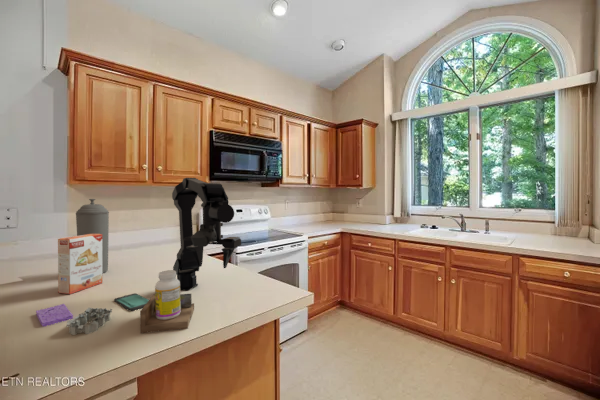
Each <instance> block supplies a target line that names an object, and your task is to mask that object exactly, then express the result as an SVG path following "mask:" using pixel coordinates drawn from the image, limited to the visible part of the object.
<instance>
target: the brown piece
mask: <svg viewBox="0 0 600 400" xmlns="http://www.w3.org/2000/svg"><path fill="white" fill-rule="evenodd" d="M148 300H149V301H148V302H147V303H146V305H145V306H144V307H143V308H142V309H140V310H139V311H140V314H139V315H140V317H139V320H140V321H139V322H140V327H139V330H140V334H147V333H157V332H165V331H167V332H168V331H175V330H186V329H189V326H190V323H191V320H192V317H193V314H194V311H195V303H193V302H192V306H191V308H181V312H180V314H179V315H178V316H177V317H175V318H172V319H168V320H160V319H158V318H156V307H155V293H154V294H153V295H152V296H151V297H150V298H149V299H148Z"/></svg>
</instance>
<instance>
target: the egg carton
mask: <svg viewBox="0 0 600 400" xmlns="http://www.w3.org/2000/svg"><path fill="white" fill-rule="evenodd" d="M112 313H113V308H110V309H107V308H106V307H105V308H99V307H97V308H92V307H87V309H86V310H85V311H84V312H82V313H79V314H78V315H76V316H75V317H73V319H70V320H67V323H66V327H67V328H68V330H69V331H68V334H70V335H71V336H76V335H78V334H81V333H84V334H85V335H89V334H91V333H95V332H97V331H98V329H99V327H103V326H104V325H105V322H107V321H110V320H111V314H112ZM88 321H89V322H88ZM77 333H78V334H77Z"/></svg>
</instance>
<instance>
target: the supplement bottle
mask: <svg viewBox="0 0 600 400" xmlns="http://www.w3.org/2000/svg"><path fill="white" fill-rule="evenodd" d="M158 279H159V280H158V281H157V282H156V283H155V285H154V294H155V307H156V318H158V319H160V320H168V319H172V318H175V317H177V316H178V315H179V314H180V312H181V306H180V294H181V290H180V281H179V280H178V279H177V275H176V271H175V270H173V269H170V270H169V269H168V270H162V271H160V272H158Z"/></svg>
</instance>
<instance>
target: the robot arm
mask: <svg viewBox="0 0 600 400" xmlns="http://www.w3.org/2000/svg"><path fill="white" fill-rule="evenodd" d="M171 194H172V196H171V198H172V200H173V205H174V206H175V208H176V210H177V211H178V219H179V238H180V239H179V240H180V249H178V251H177V253H176V260H175V261H174V265H173V267H172V270H175V271H176V279H178V280H179V281H180V291H190V290H192V289H193V288H195V287H197V286H198V285H199V284H198V283H197V275H196V272H200V267H202V265H203V257H204V248H205V247H207V246H208V245H217V246H218V245H221V246H222V247H223V248H221V251H222V256H223V257H222V258H223V260H222V261H223V262H222V266H223V269H226V268H227V267H228V264H229V261H230V259H231V257H232V254H233V253H234V251H235V249H237V248H238V247H240V246H242V239H241V238H240V237H239V236H228V237H225V238H224V235H223V234H222V227H223V226H224V223H225V224H226V223H230V222H231V221H232V220H233V219H234V217H235V210H234V207H232V205H230V204H229V197H228V195H227V193H226V191H225V188H224V187H223V184H222V183H220V182H206V181H203V180H200V179H199V178H197V177H185V178H182V181H181V182H179V183H178V184H177V185H175V186H174V188H173V190H172V193H171ZM197 198H199V199H200V200H201V201H202V203H201V204H200V206H201V207H202V224H200V225H199V230H198V231H196V232H195V233H194V232H193V231H194V229H193V228H194V227H193V212H192V211H193V209H194V207H195V205H196V199H197Z"/></svg>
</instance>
